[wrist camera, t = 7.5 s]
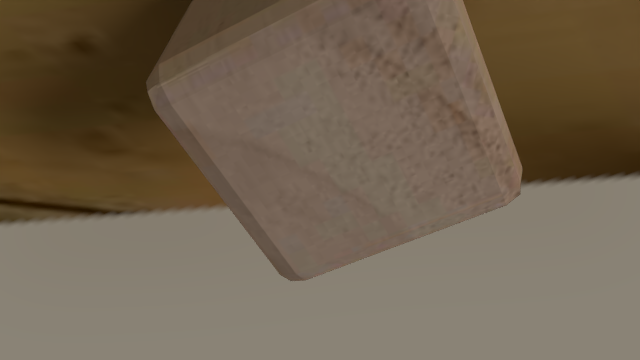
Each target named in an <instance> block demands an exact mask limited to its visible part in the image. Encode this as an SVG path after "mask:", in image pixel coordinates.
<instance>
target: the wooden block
mask: <svg viewBox="0 0 640 360" xmlns="http://www.w3.org/2000/svg"><path fill="white" fill-rule="evenodd" d="M146 85H147V92H148V94H149V97H150V100H151V102H152V105H153V108H154V110H155V112H156V113H157V114H158V115H159V117H160V118H161V119H162V121H163V122H164V123H165V125H166V126H167V127H168V129H169V130H170V131H171V132H172V134H173V135H174V136H175V138H176V139H177V140H178V142H179V143H180V144H181V146H182V147H183V148H184V149H185V151H186V152H187V153H188V155H189V156H190V157H191V159H192V160H193V161H194V163H195V164H196V165H197V166H198V168H199V169H200V170H201V172H202V173H203V174H204V176H205V177H206V178H207V180H208V181H209V182H210V183H211V185H212V186H213V187H214V189H215V190H216V191H217V193H218V194H219V195H220V197H221V198H222V199H223V201H224V202H225V203H226V204H227V206H228V207H229V208H230V210H231V211H232V212H233V214H234V215H235V216H236V217H237V219H238V220H239V221H240V223H241V224H242V225H243V227H244V228H245V229H246V231H247V232H248V233H249V235H250V236H251V237H252V238H253V240H254V241H255V242H256V244H257V245H258V246H259V248H260V249H261V250H262V252H263V253H264V254H265V255H266V257H267V258H268V259H269V261H270V262H271V263H272V265H273V266H274V267H275V269H276V270H277V271H278V272H279V274H280V275H281V276H283V277H285V278H287V279H288V280H290V281H300V280H308V279H310V278H313V277H316V276H318V275H321V274H324V273H326V272H329V271H332V270H334V269H337V268H339V267H342V266H345V265H348V264H350V263H353V262H356V261H358V260H361V259H363V258H366V257H369V256H372V255H374V254H377V253H379V252H382V251H385V250H388V249H390V248H393V247H396V246H398V245H401V244H404V243H406V242H409V241H412V240H414V239H417V238H420V237H422V236H425V235H428V234H431V233H433V232H436V231H439V230H441V229H444V228H447V227H449V226H452V225H454V224H457V223H460V222H463V221H465V220H468V219H470V218H473V217H476V216H478V215H481V214H484V213H487V212H489V211H492V210H494V209H497V208H500V207H503V206H505V205H507V204H508V203H510V202H511V201H512V200H514V199H515V198H516V197H517V196H519V195H520V186H521V177H522V169H523V168H522V165H521V162H520V160H519V157H518V154H517V151H516V148H515V146H514V143H513V140H512V137H511V134H510V132H509V129H508V126H507V123H506V120H505V118H504V115H503V112H502V109H501V106H500V104H499V101H498V98H497V95H496V92H495V90H494V87H493V84H492V81H491V78H490V76H489V73H488V70H487V67H486V64H485V62H484V59H483V56H482V53H481V50H480V48H479V45H478V42H477V39H476V36H475V34H474V31H473V28H472V25H471V22H470V20H469V17H468V14H467V11H466V8H465V5H464V3H463V0H192V2H191V3H190V5H189V7H188V9H187V10H186V12H185V14H184V16H183V18H182V19H181V21H180V23H179V25H178V26H177V28H176V30H175V32H174V33H173V35H172V37H171V39H170V40H169V42H168V44H167V46H166V47H165V49H164V51H163V53H162V54H161V56H160V58H159V60H158V61H157V63H156V65H155V67H154V68H153V70H152V72H151V74H150V75H149V77H148V79H147V81H146Z"/></svg>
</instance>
